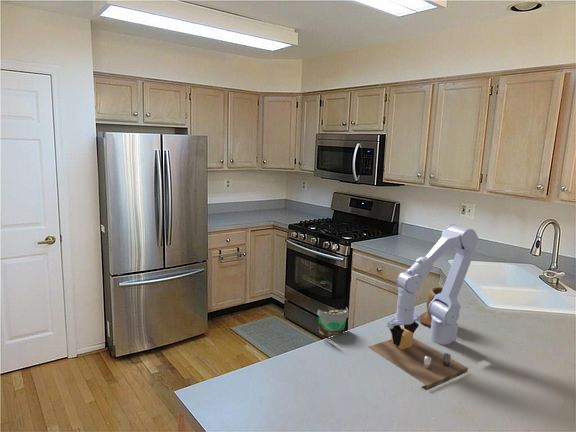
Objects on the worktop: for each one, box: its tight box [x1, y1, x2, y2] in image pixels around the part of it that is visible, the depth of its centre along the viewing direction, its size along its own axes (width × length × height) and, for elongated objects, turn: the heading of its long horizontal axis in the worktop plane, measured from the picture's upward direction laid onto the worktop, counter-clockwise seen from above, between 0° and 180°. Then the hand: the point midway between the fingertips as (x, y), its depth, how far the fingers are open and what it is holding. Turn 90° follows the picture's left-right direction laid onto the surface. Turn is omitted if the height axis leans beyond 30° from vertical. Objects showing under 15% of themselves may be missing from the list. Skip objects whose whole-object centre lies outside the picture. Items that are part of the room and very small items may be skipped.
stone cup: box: [419, 286, 445, 327], centre depth 159 cm, size 15×12×15 cm
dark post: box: [443, 353, 451, 367], centre depth 125 cm, size 2×2×5 cm
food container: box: [316, 306, 350, 340], centre depth 143 cm, size 12×6×10 cm, turn 105°
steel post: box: [423, 356, 431, 369], centre depth 123 cm, size 2×2×5 cm
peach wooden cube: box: [391, 326, 414, 350], centre depth 137 cm, size 5×5×5 cm
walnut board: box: [367, 337, 469, 391], centre depth 130 cm, size 20×25×2 cm
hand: (401, 342), depth 137 cm, fingers closed on peach wooden cube, 5 cm apart
